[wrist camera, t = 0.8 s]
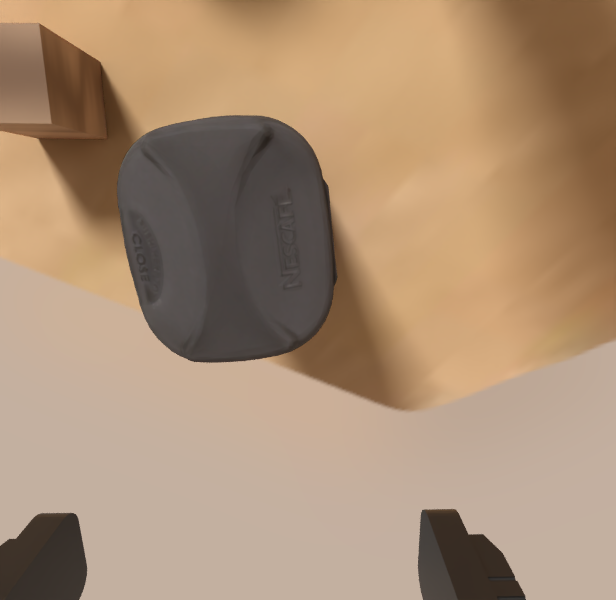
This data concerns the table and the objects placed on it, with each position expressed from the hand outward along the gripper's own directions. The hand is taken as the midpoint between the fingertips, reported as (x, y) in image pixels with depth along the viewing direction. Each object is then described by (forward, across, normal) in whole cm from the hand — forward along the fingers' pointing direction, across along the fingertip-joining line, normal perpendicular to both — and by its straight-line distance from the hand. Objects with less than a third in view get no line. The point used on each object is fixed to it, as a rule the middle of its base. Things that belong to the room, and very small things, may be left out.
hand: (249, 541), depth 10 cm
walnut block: (+25, +15, -14) cm, 32 cm away
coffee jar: (+25, +2, -6) cm, 25 cm away
